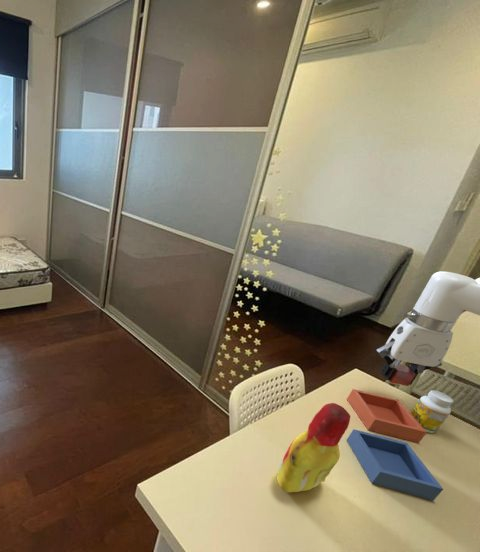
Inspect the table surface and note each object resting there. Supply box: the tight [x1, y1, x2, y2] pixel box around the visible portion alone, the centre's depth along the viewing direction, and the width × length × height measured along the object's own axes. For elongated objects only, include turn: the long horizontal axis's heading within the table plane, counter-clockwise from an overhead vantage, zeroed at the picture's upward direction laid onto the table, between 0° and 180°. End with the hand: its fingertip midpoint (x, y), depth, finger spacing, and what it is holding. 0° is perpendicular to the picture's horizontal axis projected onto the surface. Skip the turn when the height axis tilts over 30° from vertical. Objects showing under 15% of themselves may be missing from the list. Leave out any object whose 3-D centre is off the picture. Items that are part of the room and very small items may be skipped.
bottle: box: [276, 402, 351, 493], centre depth 59 cm, size 12×6×20 cm, turn 112°
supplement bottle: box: [409, 389, 454, 434], centre depth 79 cm, size 5×5×10 cm
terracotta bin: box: [346, 388, 428, 444], centre depth 80 cm, size 11×11×4 cm
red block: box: [388, 363, 416, 387], centre depth 85 cm, size 4×4×4 cm
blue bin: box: [346, 428, 444, 502], centre depth 68 cm, size 11×11×4 cm
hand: (395, 378), depth 86 cm, fingers closed on red block, 4 cm apart
